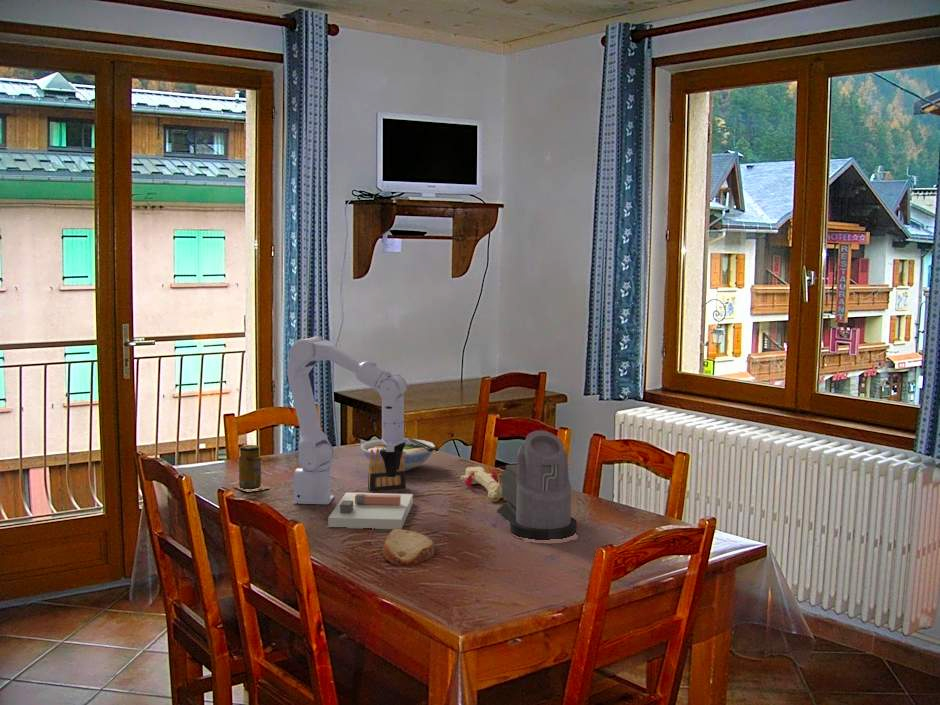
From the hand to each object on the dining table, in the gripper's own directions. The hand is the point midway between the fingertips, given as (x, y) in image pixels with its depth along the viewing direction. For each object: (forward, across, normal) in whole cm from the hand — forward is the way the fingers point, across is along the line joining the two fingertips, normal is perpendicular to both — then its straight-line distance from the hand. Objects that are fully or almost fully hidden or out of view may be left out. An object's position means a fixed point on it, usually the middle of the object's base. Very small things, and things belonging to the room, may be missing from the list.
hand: (393, 473), depth 263 cm
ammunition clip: (+10, +20, +4) cm, 22 cm away
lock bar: (+7, -6, +3) cm, 9 cm away
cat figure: (+10, +20, -24) cm, 32 cm away
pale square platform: (+9, -6, +5) cm, 12 cm away
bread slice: (+10, -35, -6) cm, 37 cm away
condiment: (+10, +17, +42) cm, 47 cm away
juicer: (+10, -13, -37) cm, 41 cm away
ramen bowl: (+10, +44, +3) cm, 45 cm away
